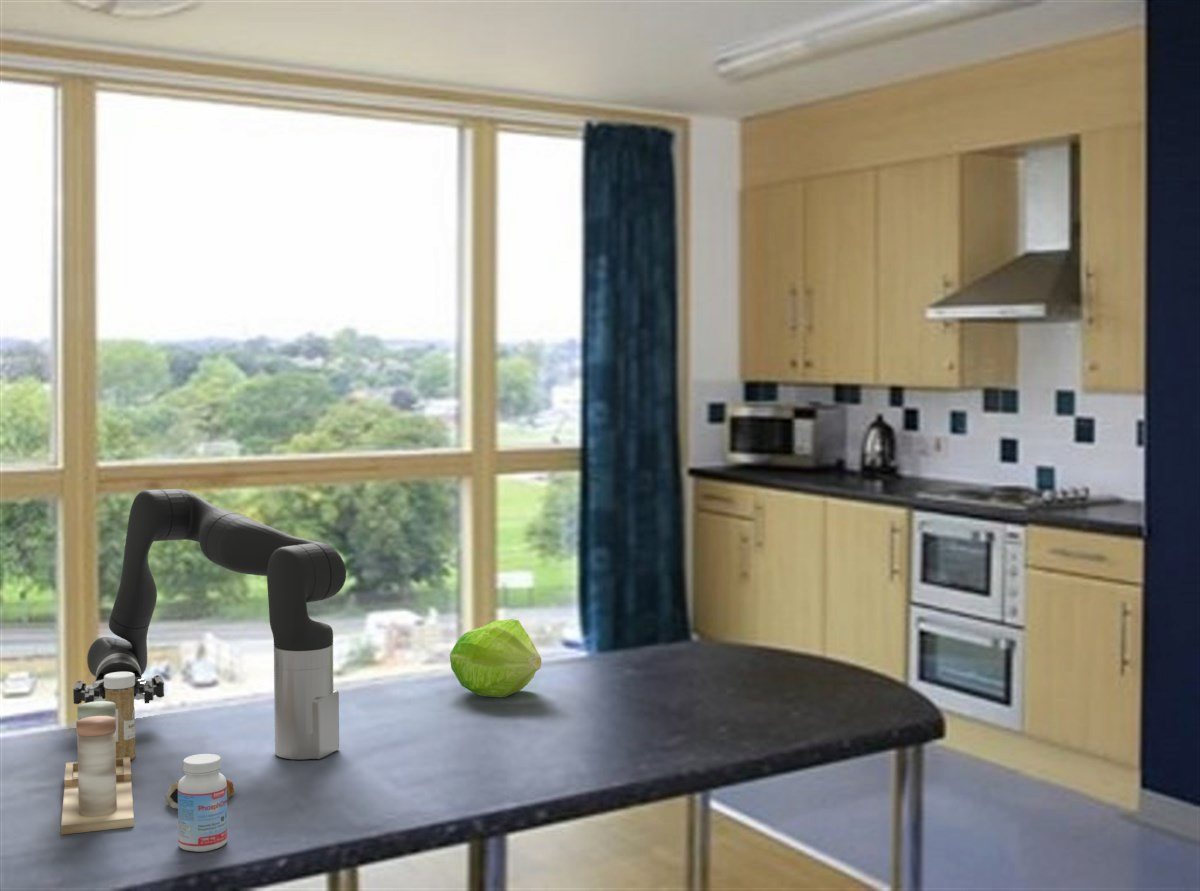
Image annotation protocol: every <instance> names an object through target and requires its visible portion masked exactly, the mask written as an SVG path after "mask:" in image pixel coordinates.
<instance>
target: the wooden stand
mask: <svg viewBox="0 0 1200 891" xmlns="http://www.w3.org/2000/svg"><path fill="white" fill-rule="evenodd" d="M76 708H77V710H76V711H77V719H78V720H77V721H76V723H75V727H76V728H75V729H76V730H75V731H76V732H75V734H76V737H77V761H70V762H66V763H65V769H64V778H63V779H64V780H63V782H64V788H63V789H64V790H63V798H62V799H63V800H62V801H63V802H62V811H61V824H60V835H69V834H70V835H71V834H79V833H80V834H81V833H90V832H97V831H99V832H100V831H108V830H117V829H124V828H125V829H126V828H132V827H133V828H134V827H135V819H134V818H135V816H134V813H135V812H134V801H133V786H132V766H131V760H130V757H121V758H116V741H115V731H116V718H115V714H116V712H115V703H114V702H109V701H96V702H88V703H85V702H84V703H80V704H78V706H77V707H76Z"/></svg>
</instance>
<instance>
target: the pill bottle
mask: <svg viewBox="0 0 1200 891" xmlns="http://www.w3.org/2000/svg"><path fill="white" fill-rule="evenodd" d="M182 763H183V764H182V766H183V768H182V769H183V773H184V774H185V775H183V776H182V777H181V778H180V779H179V780H178V781H179V783H178V809H177V842H178V843H177V844H178V847H179V848H180V849H182V850H184V851H188V852H197V853H201V852H202V853H205V852H209V851H214V850H216V849H219V848H221V847H223V846H225V844H226V843H227V841H228V799H227V781H226V780H227V779H226V776H225V775H224V774H222V773H221V772H220V770H221V769H222V768H221V767H222V758H221V756H220V755H218V754H213V753H200V754H193V755H189V756H187V757H185V758H184V759H183V761H182Z"/></svg>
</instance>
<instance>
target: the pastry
mask: <svg viewBox="0 0 1200 891" xmlns="http://www.w3.org/2000/svg"><path fill="white" fill-rule="evenodd" d="M179 781H180V780H178V781H177V782H175V783H172V784H171V786H170V788H169V789H168V790H167V794H166V795H165V802H166V804H167V805H168V807H170V808H172V809H177V810H178V783H179ZM226 781H227V800H229V799H231V797H232V796H233V795H234V792H235V789H234V784H233V782H232V781H230V780H228V779H226Z"/></svg>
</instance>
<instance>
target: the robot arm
mask: <svg viewBox="0 0 1200 891" xmlns="http://www.w3.org/2000/svg"><path fill="white" fill-rule="evenodd" d="M129 510H130V511H129V515H128V520H127V522H128V523H127V530H126V535H125V536H126V537H125V545H124V552H123V562H122V568H121V569H122V572H121V576H120V581H119V586H118V591H117V594H116V597H115V601H114V603H113V606H112V609H111V610H112V611H111V613H110V616H109V621H108V628H109V630H110V631H111V633H112V634H113V635H116V637H118V638H114V637H108V636H103V637H100V638H99V637H98V638H97V639H96V640H95V641H94V642H92V643H91V645H90V647H89V649H88V652H87V656H86V660H87V662H86V663H87V668H88V671H89V672H90V673H91V675H92V676H94V677H95V681H94V682H93V683H92V684H89V685H87V683H86V682H84V681H83V680H78V681H76V682H74V685H73V688H72V690H73V691H72V694H73V696H72V697H73V700H72V701H73V704H75V705H80V704H82V703H83V702H84V703H88V702H96V701H105V687H104V676H105V675H106V674H109V673H113V672H132V673H134V674H135V685H134V700H135V701H141V700H144V704H150V701H153V700H154V696H156V697H157V698H163V697H165V686H164V685H165V681H164V679H163V677H162V675H159V674H156V675H153V677H151V680H146V679H145V678H143V674H144V673H145V671H146V670H147V664H148V646H147V645H148V644H147V643H148V633H149V627H150V623H151V621H152V618H153V614H154V611H155V608H156V605H157V598H158V589H157V586H156V583H155V582H156V581H155V579H154V577H153V574H152V572H151V569H150V565H149V559H148V558H149V552H150V550H151V547H152V544H153V543H154V542H161V541H164V542H166V541H184V540H185V541H186V540H187V541H194V542H197V543H199V547H200V549H201V551H202V553H203V555H204V556H205V557H206V558H207V559H208V560H209V561H210V562H212V563H213V564H216V565H218V566H220V567H221V568H224V569H227V570H229V571H232V572H235V573H239V574H244V575H252V576H260V577H261V576H263V577H266V585H267V586H266V587H267V600H268V615H269V626H270V629H271V633H272V637H273V692H274V693H273V694H274V698H273V701H274V706H273V707H274V710H273V711H274V754H275V756H277V757H279V758H283V759H288V760H310V759H313V760H316V759H317V760H320V759H322V758H325V757H327V756H328V755H330V754H333V753H334V752H336V751H338V750H340V693H339V691H338V690H334V630H333V628H332V626H331V625H329V624H327V623H326V622H325V623H324V622H320V621H315V620H313V619H311V618H310V617H309V613H308V606H307V603H311V602H319V601H324V600H327V599H329V598H332V597H333V596H335V595H337V594H338V593H339V592H340V591H341V590H342V589H343V587H344V586H345V582H346V579H347V568H346V565H345V562H344V560H343V558H342V556H341V554H340V553H339V552H338V551H337V550H336V549H335V548H334V547H333V546H331V545H329V544H328V543H324V542H320V541H315V540H311V539H306V538H301V537H298V536H293V535H291V534H288V533H285V532H283V531H280V530H279V529H277V528H274V527H272V526H269V525H267V524H264V523H261V522H259V521H256V520H254V519H252V518H251V517H250V518H249V517H248V516H245V515H242V514H240V513H236V512H233V511H231V510H228V509H226V508H222V507H218V506H216V505H214V504H212V503H210V502H209V501H207V500H205V499H204V498H201V496H199V495H197V494H195V493H193V492H191V491H189V490H186V489H181V488H173V489H172V488H170V489H169V488H168V489H167V488H166V489H165V488H163V489H161V488H160V489H145V490H142V491H141V492H139V493H137V495H136V496H135V497H134V500H133V501H132V504H131V508H130V509H129ZM119 638H121V639H119Z"/></svg>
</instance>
